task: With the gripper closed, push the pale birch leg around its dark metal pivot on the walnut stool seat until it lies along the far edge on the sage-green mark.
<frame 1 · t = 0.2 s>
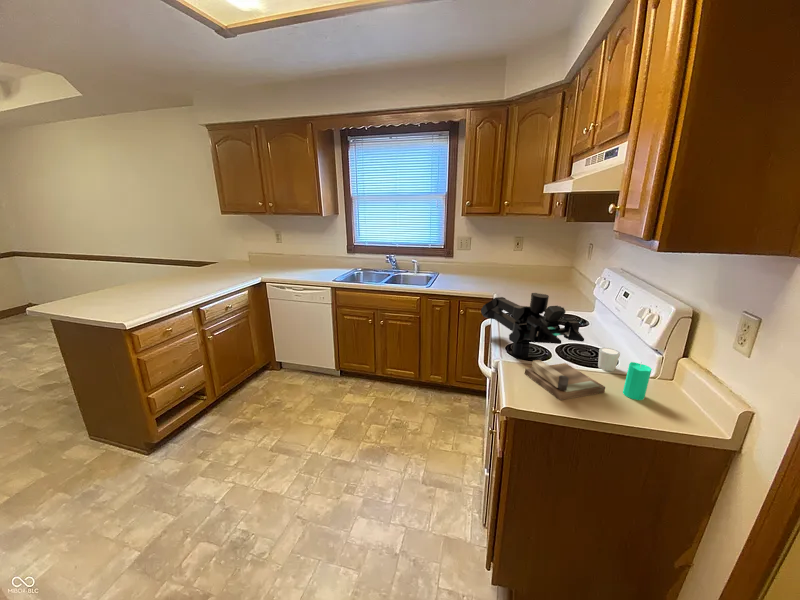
hand: (572, 341, 114), 17 cm above the table, tool horizontal, fingers open, 9 cm apart
hinged leg: (549, 374, 118), point 4 cm above the table, hinge at 0.0°
candle: (633, 395, 115), on the table
stool seat: (562, 382, 121), on the table
white mug: (606, 368, 133), on the table
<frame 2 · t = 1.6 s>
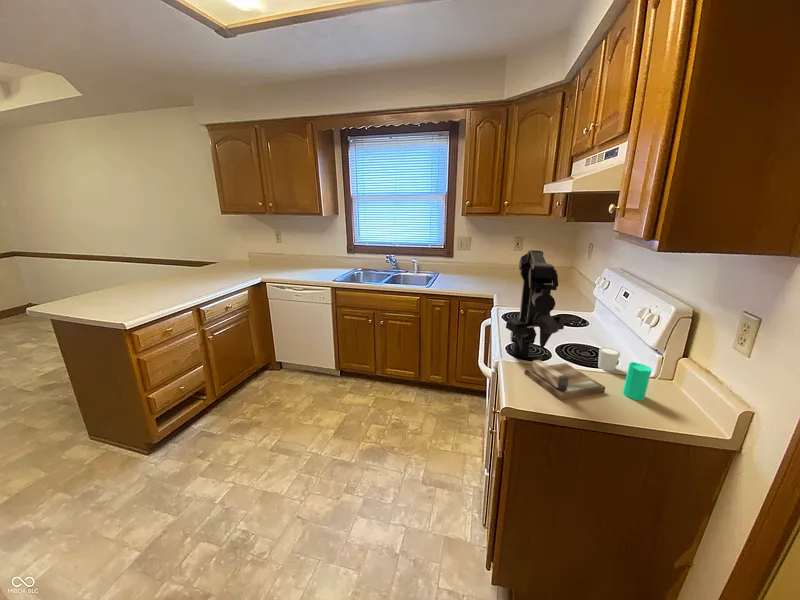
hand: (531, 348, 116), 13 cm above the table, tool pointing down, fingers open, 8 cm apart
nothing on the table moved.
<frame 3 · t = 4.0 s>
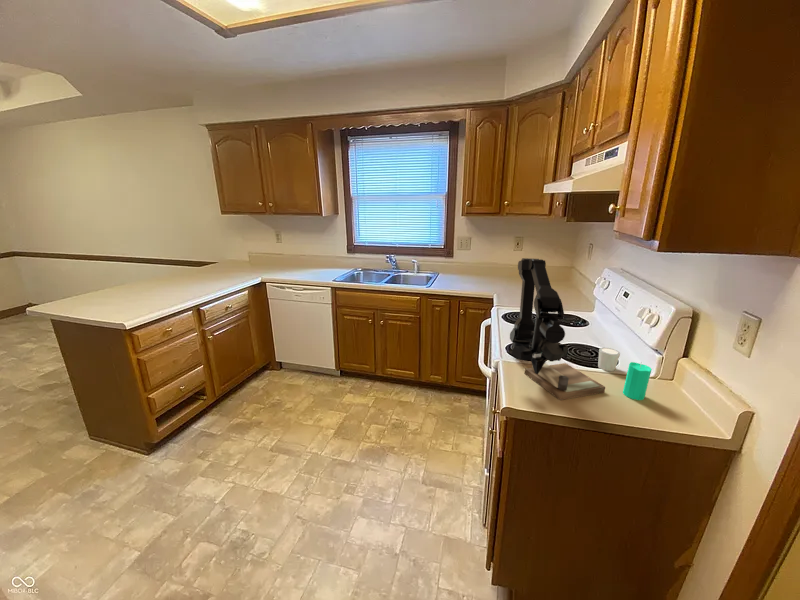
hand: (536, 373, 120), 3 cm above the table, tool pointing down, fingers closed
hinged leg: (550, 374, 118), point 4 cm above the table, hinge at 0.5°, touching gripper
everything else where it was.
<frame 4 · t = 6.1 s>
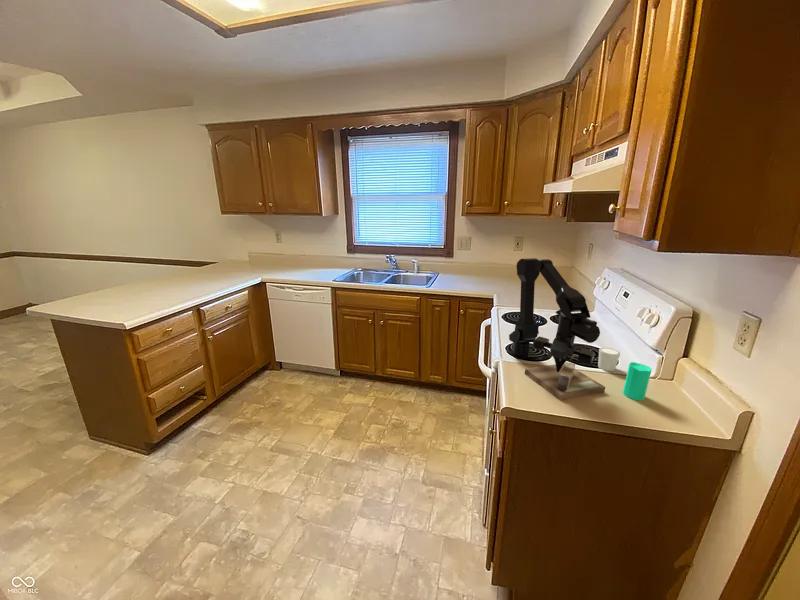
hand: (558, 371, 121), 4 cm above the table, tool pointing down, fingers closed
hinged leg: (566, 375, 117), point 4 cm above the table, hinge at 51.6°, touching gripper
everything else where it was.
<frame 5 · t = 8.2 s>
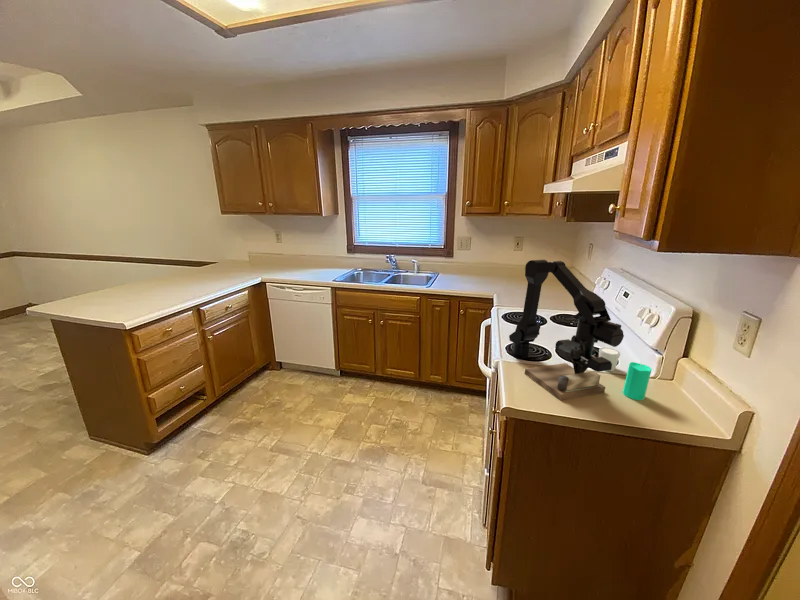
hand: (577, 377, 118), 3 cm above the table, tool pointing down, fingers closed
hinged leg: (578, 380, 114), point 4 cm above the table, hinge at 90.1°, touching gripper
everything else where it was.
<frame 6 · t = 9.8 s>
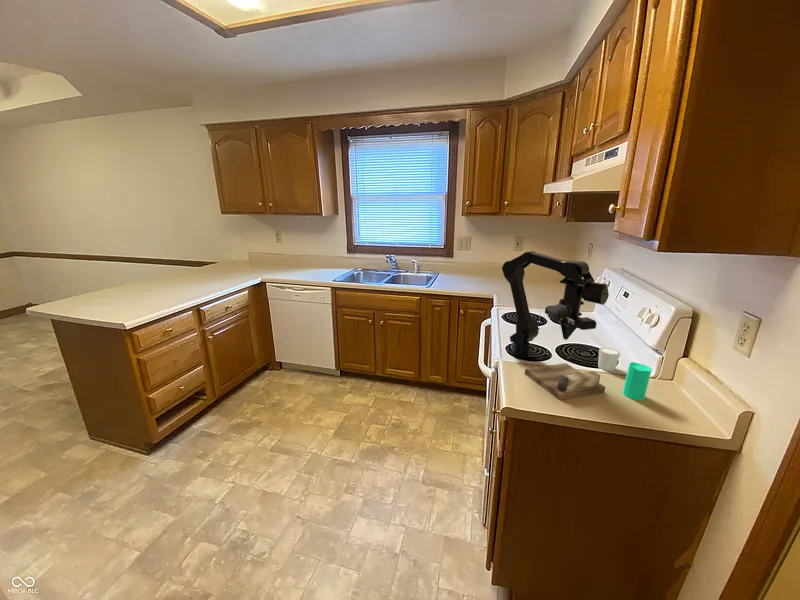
hand: (565, 339, 126), 13 cm above the table, tool pointing down, fingers closed
hinged leg: (578, 380, 114), point 4 cm above the table, hinge at 90.1°
everything else where it was.
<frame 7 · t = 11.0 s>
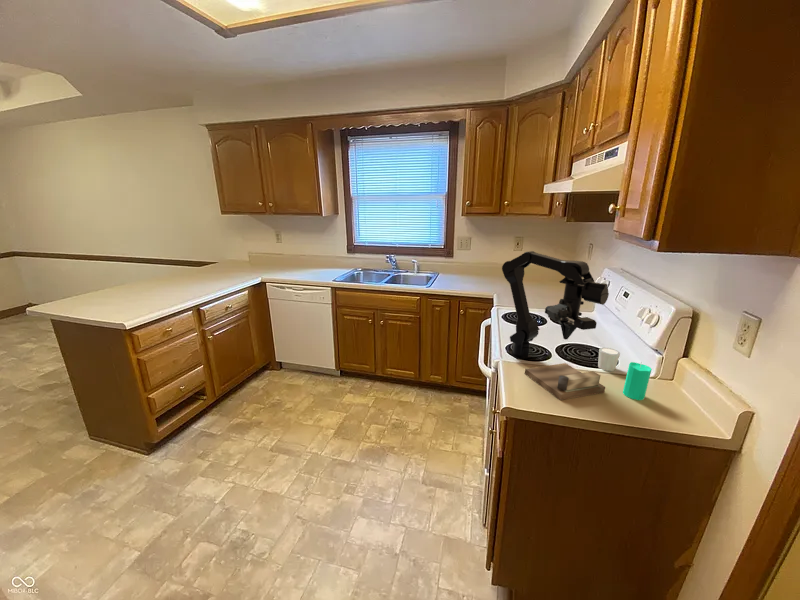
hand: (565, 339, 126), 13 cm above the table, tool pointing down, fingers closed
nothing on the table moved.
at the end: hinged leg at +90° (first picture: +0°); candle moved 0.2 cm from its start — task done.
